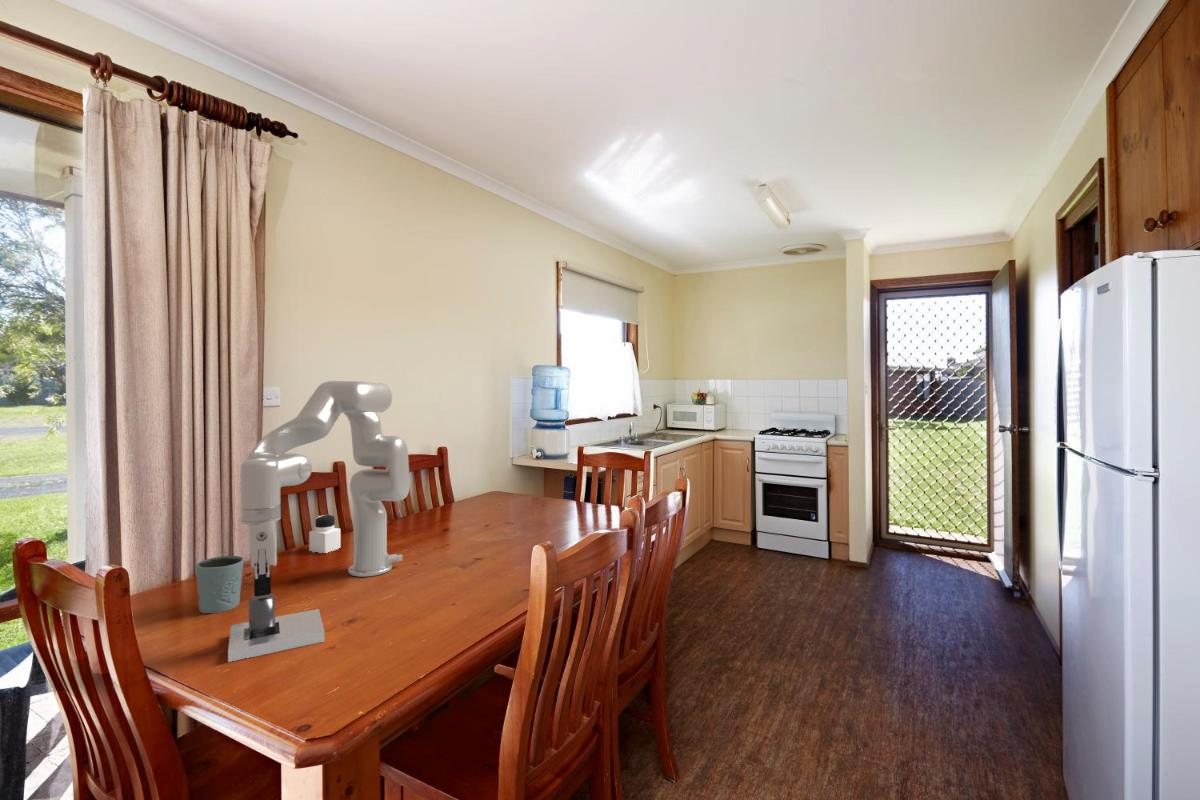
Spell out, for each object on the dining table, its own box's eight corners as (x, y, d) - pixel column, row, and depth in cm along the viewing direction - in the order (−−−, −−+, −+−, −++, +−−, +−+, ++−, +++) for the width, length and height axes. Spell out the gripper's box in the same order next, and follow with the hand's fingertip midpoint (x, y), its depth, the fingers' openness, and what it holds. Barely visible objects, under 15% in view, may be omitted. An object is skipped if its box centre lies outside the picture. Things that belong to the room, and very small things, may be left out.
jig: (318, 618, 135) (318, 608, 135) (324, 641, 123) (324, 630, 123) (231, 635, 125) (231, 625, 125) (228, 662, 114) (228, 650, 113)
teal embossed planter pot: (193, 606, 142) (193, 560, 141) (239, 596, 149) (238, 552, 148) (200, 618, 134) (200, 570, 134) (248, 607, 142) (247, 561, 141)
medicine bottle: (341, 548, 193) (340, 514, 192) (324, 554, 186) (324, 519, 185) (325, 546, 195) (325, 513, 195) (308, 552, 188) (308, 517, 188)
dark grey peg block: (274, 634, 126) (274, 592, 126) (275, 643, 122) (275, 599, 122) (249, 639, 124) (248, 596, 123) (248, 649, 119) (248, 604, 119)
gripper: (281, 519, 118) (283, 602, 118) (279, 505, 130) (280, 580, 131) (240, 523, 114) (241, 610, 114) (242, 508, 126) (243, 586, 127)
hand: (262, 594), depth 123 cm, fingers closed
